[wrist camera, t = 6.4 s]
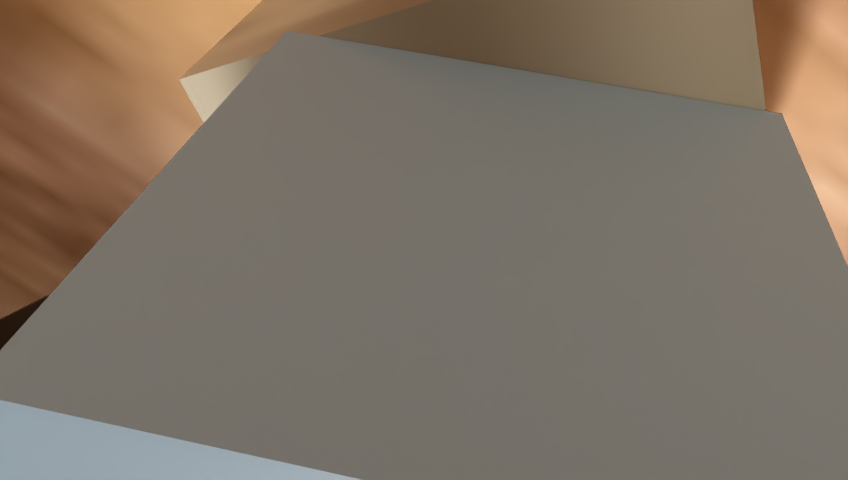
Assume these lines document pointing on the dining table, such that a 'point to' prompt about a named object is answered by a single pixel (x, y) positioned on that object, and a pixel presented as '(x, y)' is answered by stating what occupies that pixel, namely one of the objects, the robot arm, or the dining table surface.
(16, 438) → the blue cube
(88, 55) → the dining table surface
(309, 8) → the birch block
